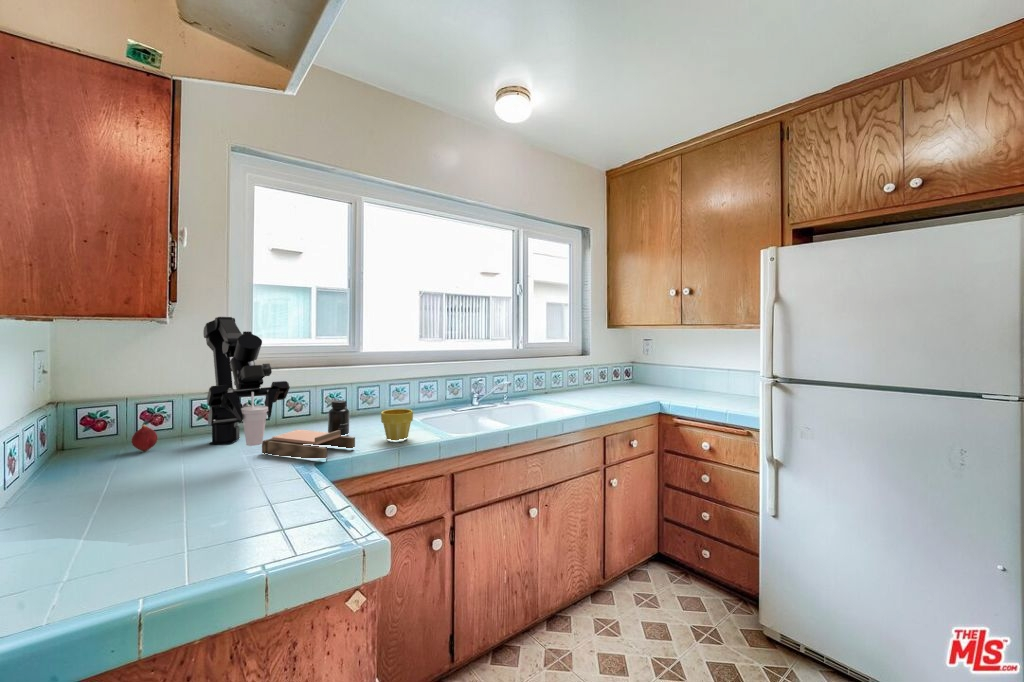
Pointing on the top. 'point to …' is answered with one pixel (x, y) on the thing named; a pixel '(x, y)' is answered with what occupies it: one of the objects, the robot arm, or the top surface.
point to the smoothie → (254, 422)
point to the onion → (144, 438)
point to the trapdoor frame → (304, 447)
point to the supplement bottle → (338, 417)
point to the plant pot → (397, 423)
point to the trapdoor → (307, 437)
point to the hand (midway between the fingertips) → (256, 418)
